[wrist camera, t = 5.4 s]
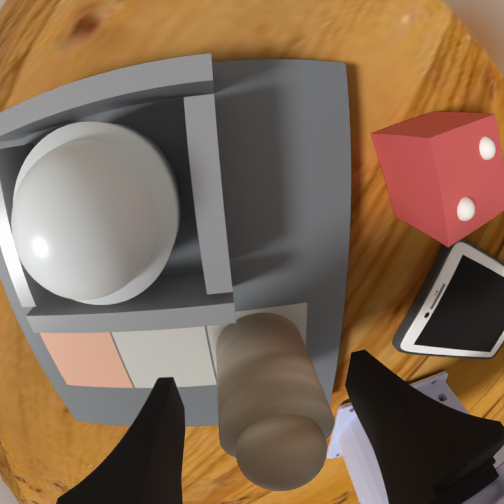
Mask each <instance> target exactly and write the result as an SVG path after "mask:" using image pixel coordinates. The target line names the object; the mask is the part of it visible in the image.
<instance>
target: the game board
mask: <svg viewBox="0 0 504 504" xmlns="http://www.w3.org/2000/svg"><path fill="white" fill-rule="evenodd" d="M78 122H104V123H114V124H121V125H124V126H128V127H131V128H133V129H135V130H137V131H139V132H141V133H142V134H144V135H145V136H147V137H148V138H150V139H151V140H152V141H153V142H154V143H155V144H156V145H157V146H158V147H159V148H160V149H161V150H162V151H163V153H164V154H165V155H166V157H167V158H168V160H169V162H170V163H171V165H172V167H173V169H174V172H175V174H176V177H177V180H178V183H179V187H180V192H181V201H182V214H181V222H180V227H179V231H178V234H177V237H176V240H175V242H174V245H173V248H172V251H171V253H170V256H169V258H168V260H167V263H166V265H165V267H164V268H163V270H162V272H161V273H160V275H159V276H158V277H157V279H156V280H155V281H154V282H153V283H152V284H151V285H150V286H149V287H148V288H147V289H145V290H144V291H143V292H142V293H140V294H138V295H137V296H135V297H133V298H131V299H129V300H126V301H123V302H120V303H116V304H109V305H93V304H86V303H82V302H79V301H75V300H73V299H69V298H65V297H62V296H59V295H56V294H54V293H52V292H51V291H49V290H47V289H45V288H44V287H43V286H41V285H40V284H39V283H38V282H36V281H35V280H34V279H33V278H32V277H31V275H30V274H29V273H28V272H27V270H26V269H25V268H24V266H23V264H22V262H21V261H20V259H19V256H18V254H17V252H16V249H15V245H14V241H13V236H12V228H11V216H12V208H13V196H14V189H15V185H16V181H17V177H18V175H19V172H20V169H21V167H22V165H23V163H24V161H25V159H26V158H27V156H28V155H29V153H30V152H31V151H32V149H33V148H34V147H35V146H36V145H37V144H38V143H39V142H40V141H41V140H42V139H43V138H44V137H46V136H47V135H48V134H50V133H52V132H53V131H55V130H57V129H58V128H61V127H64V126H66V125H69V124H73V123H78ZM350 218H351V136H350V114H349V98H348V84H347V73H346V63H341V62H331V61H317V60H297V59H252V60H232V61H218V62H212V57H211V53H210V54H200V55H192V56H184V57H177V58H171V59H165V60H159V61H153V62H148V63H143V64H138V65H134V66H129V67H125V68H121V69H117V70H113V71H109V72H106V73H102V74H98V75H95V76H92V77H88V78H85V79H82V80H79V81H76V82H73V83H70V84H67V85H64V86H61V87H58V88H56V89H53V90H51V91H48V92H45V93H43V94H40V95H38V96H36V97H33V98H31V99H29V100H26V101H24V102H22V103H20V104H17V105H15V106H13V107H11V108H9V109H7V110H5V111H3V112H1V113H0V278H1V281H2V284H3V286H4V289H5V292H6V294H7V297H8V299H9V302H10V304H11V306H12V309H13V311H14V313H15V316H16V318H17V320H18V322H19V324H20V327H21V329H22V331H23V333H24V335H25V337H26V339H27V341H28V343H29V345H30V347H31V349H32V350H33V352H34V354H35V356H36V358H37V360H38V361H39V363H40V365H41V367H42V368H43V370H44V372H45V374H46V375H47V377H48V379H49V380H50V382H51V383H52V385H53V387H54V388H55V390H56V391H57V393H58V394H59V396H60V397H61V399H62V400H63V402H64V403H65V405H66V406H67V408H68V409H69V411H70V412H71V413H72V415H73V416H74V417H75V419H76V420H77V421H79V422H88V423H97V424H108V425H121V426H131V425H132V423H133V422H134V420H135V419H136V417H137V415H138V414H139V412H140V410H141V408H142V407H143V405H144V403H145V401H146V400H147V398H148V396H149V394H150V392H151V390H152V388H153V386H154V384H155V382H156V380H157V379H158V378H159V377H174V380H175V383H176V386H177V388H178V391H179V394H180V397H181V399H182V402H183V405H184V407H185V427H187V426H209V425H219V418H218V396H217V369H216V344H217V340H218V338H219V336H220V334H221V333H222V331H223V330H224V329H225V328H226V327H227V326H228V325H229V324H233V323H236V320H237V319H239V318H241V317H244V316H247V315H250V314H256V313H272V314H277V315H280V316H283V317H285V318H287V319H289V320H290V321H292V322H293V323H294V324H295V325H296V326H297V328H298V329H299V331H300V334H301V336H302V339H303V341H304V344H305V346H306V349H307V351H308V354H309V356H310V359H311V361H312V364H313V366H314V369H315V371H316V374H317V376H318V379H319V381H320V384H321V386H322V389H323V391H324V394H325V396H326V399H327V401H328V404H329V406H330V402H331V397H332V391H333V385H334V379H335V373H336V367H337V361H338V354H339V347H340V339H341V332H342V323H343V315H344V305H345V295H346V284H347V272H348V258H349V241H350Z"/></svg>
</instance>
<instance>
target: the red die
mask: <svg viewBox="0 0 504 504" xmlns="http://www.w3.org/2000/svg"><path fill="white" fill-rule="evenodd" d="M371 136H372V139H373V142H374V145H375V148H376V151H377V154H378V158H379V161H380V164H381V168H382V171H383V174H384V178H385V182H386V185H387V189H388V193H389V196H390V200H391V204H392V208H393V213H394V216H395V217H397V218H399V219H401V220H402V221H404V222H406V223H408V224H410V225H411V226H413V227H415V228H417V229H418V230H420V231H422V232H424V233H425V234H427V235H429V236H430V237H432V238H434V239H435V240H437V241H439V242H440V243H442V244H444V245H445V246H447V247H450V246H451V245H453V244H454V243H456V242H458V241H459V240H461V239H462V238H464V237H465V236H467V235H469V234H470V233H472V232H473V231H475V230H476V229H478V228H479V227H481V226H482V225H484V224H485V223H487V222H488V221H490V220H491V219H493V218H494V217H496V216H497V215H499V214H500V213H501V212H503V211H504V163H503V156H502V149H501V143H500V137H499V132H498V127H497V122H496V118H495V114H485V113H468V112H432V113H428V114H425V115H422V116H419V117H416V118H413V119H410V120H407V121H404V122H401V123H399V124H396V125H393V126H390V127H387V128H384V129H382V130H379V131H376V132H373V133H371Z"/></svg>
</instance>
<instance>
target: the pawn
mask: <svg viewBox="0 0 504 504" xmlns="http://www.w3.org/2000/svg"><path fill="white" fill-rule="evenodd" d="M216 369H217V396H218V418H219V437H220V444H221V446H222V448H223V449H224V451H226V452H227V453H228V454H230V455H231V456H234V457H236V458H237V462H238V465H239V467H240V469H241V471H242V473H243V474H244V475H245V476H246V477H247V478H248V479H249V480H250V481H251V482H252V483H254V484H255V485H257V486H259V487H262V488H264V489H268V490H272V491H287V490H292V489H296V488H299V487H301V486H303V485H305V484H307V483H308V482H310V481H311V480H312V479H313V478H314V477H315V476H316V475H317V474H318V473H319V472H320V470H321V469H322V467H323V465H324V462H325V459H326V455H327V443H326V439H327V438H328V436H329V435H330V434H331V432H332V431H333V428H334V425H335V420H334V416H333V414H332V411H331V409H330V406H329V404H328V401H327V399H326V396H325V394H324V391H323V389H322V386H321V384H320V381H319V379H318V376H317V374H316V371H315V369H314V366H313V364H312V361H311V359H310V356H309V354H308V351H307V349H306V346H305V344H304V341H303V339H302V336H301V334H300V331H299V329H298V328H297V326H296V325H295V324H294V323H293V322H292V321H290V320H289V319H287V318H285V317H283V316H280V315H277V314H272V313H256V314H250V315H247V316H244V317H241V318H239V319H237V320H236V323H233V324H229V325H228V326H227V327H226V328H225V329H224V330H223V331H222V333H221V334H220V336H219V338H218V340H217V344H216Z"/></svg>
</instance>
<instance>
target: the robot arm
mask: <svg viewBox="0 0 504 504" xmlns="http://www.w3.org/2000/svg"><path fill="white" fill-rule="evenodd" d="M447 377H448V373H447V372H446V371H442V372H440V373H437V374H435V375H432V376H430V377H427V378H425V379H422V380H419V381H417V382H414V383H411V384H408V383H407V382H405V381H404V380H402V379H401V378H400V377H398V376H397V375H396V374H394V373H393V372H392V371H391V370H389V369H388V368H387V367H386V366H384V365H383V364H382V363H381V362H379V361H378V360H377V359H376V358H374V357H373V356H372V355H371V354H370V353H368V352H367V351H366V350H361V351H357V352H352V353H351V358H350V364H349V369H348V374H347V379H346V383H345V386H346V389H347V392H348V395H349V398H350V401H351V402H349V403H345V404H343V405H341V406H340V407H339V408H338V411H337V415H336V419H335V425H334V428H333V431H332V435H331V439H330V443H329V446H328V450H327V455H326V456H327V458H328V459H332V458H336V457H340V456H343V458H344V461H345V464H346V466H347V469H348V472H349V474H350V477H351V480H352V483H353V485H354V488H355V491H356V494H357V497H358V499H359V502H360V504H504V462H503V463H501V464H500V465H499V466H498V467H497V468H494V466H493V464H494V463H495V459H494V458H493V456H494V455H495V454H496V452H498V451H499V449H501V447H502V446H503V445H504V426H503V425H502V424H501V422H500V421H494V420H489V419H484V418H480V417H476V416H473V415H470V414H469V413H468V412H467V410H466V409H465V407H464V406H463V405H462V403H461V402H460V401H459V399H458V398H457V397H456V395H455V394H454V393H453V391H452V390H451V389H450V387H449V386H448V385H447V383H446V382H445V381H446V379H447ZM184 438H185V407H184V405H183V402H182V399H181V397H180V394H179V391H178V388H177V386H176V383H175V380H174V377H159V378H158V379H157V380H156V382H155V384H154V386H153V388H152V390H151V392H150V394H149V396H148V398H147V400H146V401H145V403H144V405H143V407H142V408H141V410H140V412H139V414H138V415H137V417H136V419H135V420H134V422H133V423H132V425H131V426H130V428H129V429H128V431H127V432H126V434H125V435H124V437H123V438H122V439H121V441H120V442H119V443H118V445H117V446H116V447H115V448H114V450H113V451H112V452H111V453H110V454H109V455H108V456H107V458H106V459H105V460H104V461H103V462H102V463H101V464H100V465H99V466H98V467H97V468H96V469H95V470H94V471H93V472H92V473H91V474H89V475H88V476H87V477H86V478H85V479H84V480H83V481H81V482H80V483H79V484H78V485H76V486H75V487H74V488H72V489H71V490H69V491H68V492H66V493H65V494H64V495H62V496H60V497H59V498H58V499H57V502H56V504H183V502H182V486H181V473H182V461H183V449H184Z"/></svg>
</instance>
